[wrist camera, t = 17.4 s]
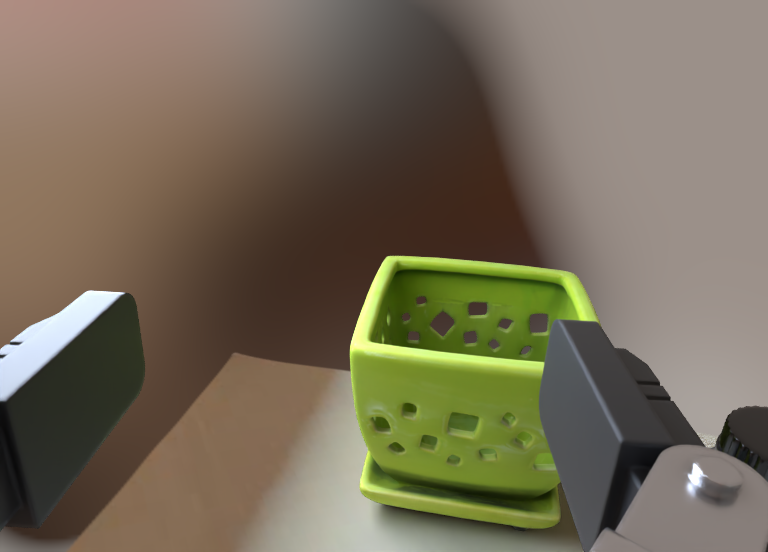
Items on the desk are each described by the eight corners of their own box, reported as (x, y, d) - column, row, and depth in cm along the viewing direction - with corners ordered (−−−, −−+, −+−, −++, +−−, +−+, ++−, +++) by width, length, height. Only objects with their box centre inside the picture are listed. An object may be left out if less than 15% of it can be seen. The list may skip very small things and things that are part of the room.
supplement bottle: (617, 572, 32) (669, 394, 28) (724, 560, 33) (791, 386, 29) (697, 703, 26) (782, 501, 21) (825, 681, 27) (933, 486, 22)
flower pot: (377, 395, 47) (384, 249, 42) (551, 419, 45) (581, 269, 40) (337, 529, 34) (341, 342, 29) (578, 570, 32) (627, 378, 27)
